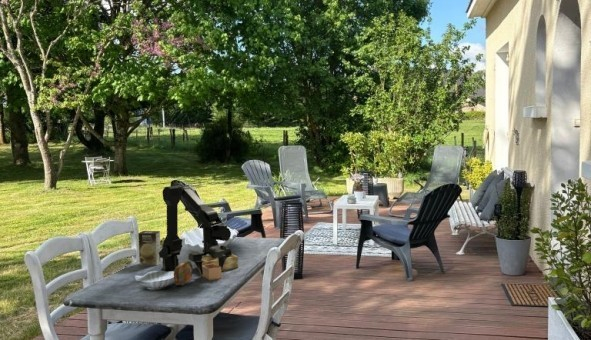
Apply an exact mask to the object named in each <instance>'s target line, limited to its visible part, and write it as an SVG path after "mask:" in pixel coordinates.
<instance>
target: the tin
mask: <svg viewBox="0 0 591 340" xmlns="http://www.w3.org/2000/svg"><path fill="white" fill-rule="evenodd" d="M193 270H194V269H193V265H192V262H191V261H190V260H189V261H183V262H181V263H180V264H179V265H178V266H177V267H176V268H175V270H173V279H174V283H175V285H176V286H185V285H186V284H187V283H188V282H190V281H191V280H192V278H193V273H194V272H193Z"/></svg>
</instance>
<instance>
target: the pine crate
mask: <svg viewBox="0 0 591 340" xmlns="http://www.w3.org/2000/svg"><path fill="white" fill-rule="evenodd" d="M207 255H209V254H207ZM201 260H202V261H203V262H202V265H207V264H216V265H218V266H219V261H218V258H215V259H214V258H212V257H211V256H209V257H203V258H202V259H201ZM194 265H195V266H194V268H195V269H197V270H198V267H197V266H196V264H195V263H194ZM238 268H239V256H238V255H235V254H234V253H232V255H229V257H228V258H227V259H226V260H225V262H224V265H223V268H222V271H221V272H223V271H228V270H234V269H238Z"/></svg>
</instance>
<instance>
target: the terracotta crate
mask: <svg viewBox="0 0 591 340" xmlns="http://www.w3.org/2000/svg"><path fill="white" fill-rule="evenodd" d="M202 269H203V275H201V274H200V275H201V277H202V278H204V279H206V280H207V281H213V280H219V279H222V278H223V277H222V271H221V267H220V266H218V265H216V264H207V265H202Z"/></svg>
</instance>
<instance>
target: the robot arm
mask: <svg viewBox="0 0 591 340" xmlns="http://www.w3.org/2000/svg"><path fill="white" fill-rule="evenodd" d="M161 194H162V199H163V202H164V203H165V205H166V235H165V238H164V240H163V241H162V242H163V243H162V248H160V252H159V256H160V258H161V260H162V267H161V269H162V270H163V271H165V272H170V271H174V270H175V268H176V267H177V266H178V265H180V264H179V263H180V262H179V258H178V256H180V255H181V251H182V248H183V247H184V246H183V238H180V236H179V234H178V233H179V232H178V230H179V229H178V226H179V225H178V221H179V220H178V218H179V217H178V215H179V214H178V211H179V210H178V207H179V206H178V205H179V203H180V201H181V198H183V199H185V201H186V202H187V203H188V204H189V206H191V208H192V209H193V210H194V211H195V213H196V215H197V216H196V217H197V218H198V219H199V221H200V223H201V225H200V226H199V227H198V228H199V229H202V240H201V243H202V245H203V249H202V253H200V252H198V251H195V252H189V254H188V260H189V261H190V262H191V261H192V262H193V263H194V265H195V264H196V266H197V267H198V269H197V270H198V271H199V274H200V275H203V269H202V262H203V261H202V260H201V259H202V258H203V257H209V256H211V257H212V258H214V259H215V258H218V261H219V266H220V267H221V272H223V271H222V268H223V265H224V262H225V260H226V259H227V258H228V257H229V255H232V254H233V251H232V249H231V248H229V247H227V246H226V244H223V245H219V241H223V242H227V241H229V240H230V239H231V236H232V231H231V230H230V228H228V225H227V224H223V221H222V220H221V218H220V216H219V215H218V212H217V210H215V209H214V208H213V207H211V206H209V205H207V204H205V203H204V202H203V201H202V200H201V198H199V197H198V195H197V194H196V193H195V192H194V191H193V190H192V188H191V186H190V185H182V186H179V185H171V186H165V187H164V188H163V189H162V193H161ZM207 254H209V255H207Z"/></svg>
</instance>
